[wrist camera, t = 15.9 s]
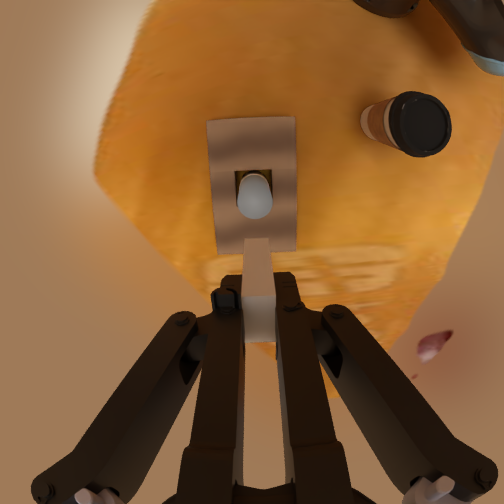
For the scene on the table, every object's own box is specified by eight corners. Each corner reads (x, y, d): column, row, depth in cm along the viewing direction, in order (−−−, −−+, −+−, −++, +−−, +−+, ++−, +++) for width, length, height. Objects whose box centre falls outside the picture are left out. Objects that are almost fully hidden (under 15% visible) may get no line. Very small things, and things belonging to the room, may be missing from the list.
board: (210, 121, 38) (206, 120, 34) (291, 117, 38) (295, 116, 34) (220, 244, 46) (217, 254, 43) (292, 241, 46) (296, 251, 43)
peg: (239, 170, 41) (235, 185, 30) (266, 169, 41) (272, 183, 30) (241, 196, 43) (237, 220, 32) (267, 195, 43) (273, 218, 32)
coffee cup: (406, 133, 38) (462, 142, 24) (369, 157, 40) (418, 173, 26) (382, 89, 35) (434, 79, 21) (342, 112, 37) (385, 106, 23)
